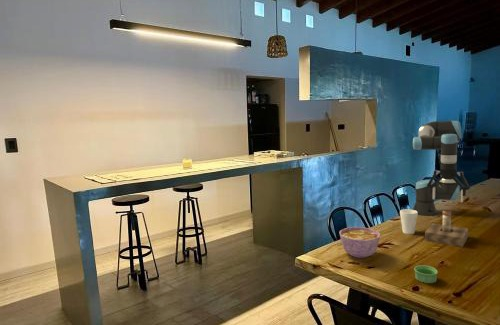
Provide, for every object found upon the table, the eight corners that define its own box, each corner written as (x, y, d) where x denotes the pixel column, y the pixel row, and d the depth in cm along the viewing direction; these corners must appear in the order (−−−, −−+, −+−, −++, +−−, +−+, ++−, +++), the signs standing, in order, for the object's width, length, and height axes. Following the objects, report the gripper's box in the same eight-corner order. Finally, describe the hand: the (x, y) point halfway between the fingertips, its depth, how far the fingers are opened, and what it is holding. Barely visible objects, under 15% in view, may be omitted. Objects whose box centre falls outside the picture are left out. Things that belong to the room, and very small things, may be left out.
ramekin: (429, 273, 147) (429, 264, 147) (442, 283, 138) (442, 273, 138) (410, 275, 147) (410, 265, 146) (421, 285, 138) (421, 275, 137)
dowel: (441, 239, 186) (442, 211, 184) (442, 236, 189) (443, 209, 187) (449, 240, 183) (450, 212, 181) (451, 238, 186) (451, 210, 184)
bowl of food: (332, 251, 177) (331, 230, 175) (362, 244, 184) (362, 224, 182) (356, 266, 158) (356, 243, 157) (389, 258, 165) (389, 236, 163)
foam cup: (399, 233, 197) (399, 212, 195) (400, 229, 205) (400, 208, 203) (417, 235, 193) (417, 214, 191) (417, 230, 201) (417, 210, 199)
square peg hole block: (424, 240, 185) (425, 231, 184) (432, 231, 198) (432, 223, 198) (462, 247, 173) (462, 238, 173) (467, 237, 187) (468, 228, 186)
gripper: (421, 162, 186) (421, 199, 188) (475, 164, 169) (473, 204, 172) (425, 160, 191) (424, 196, 194) (476, 162, 175) (475, 201, 178)
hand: (447, 200), depth 183 cm, fingers open, 13 cm apart
